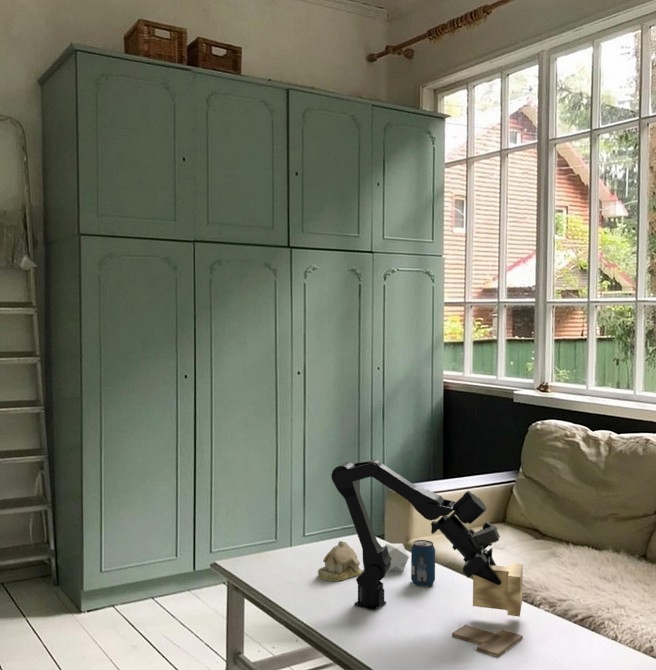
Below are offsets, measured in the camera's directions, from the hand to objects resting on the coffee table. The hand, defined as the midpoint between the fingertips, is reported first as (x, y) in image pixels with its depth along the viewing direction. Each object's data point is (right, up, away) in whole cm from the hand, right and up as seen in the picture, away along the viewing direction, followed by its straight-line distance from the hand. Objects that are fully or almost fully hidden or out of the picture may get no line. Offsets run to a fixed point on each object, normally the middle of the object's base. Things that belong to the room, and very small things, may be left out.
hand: (500, 581), depth 198 cm
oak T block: (0, -7, 0) cm, 7 cm away
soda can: (-17, -9, +27) cm, 33 cm away
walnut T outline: (-6, -11, -12) cm, 17 cm away
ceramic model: (-41, -9, +35) cm, 54 cm away
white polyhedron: (-24, -9, +39) cm, 47 cm away
